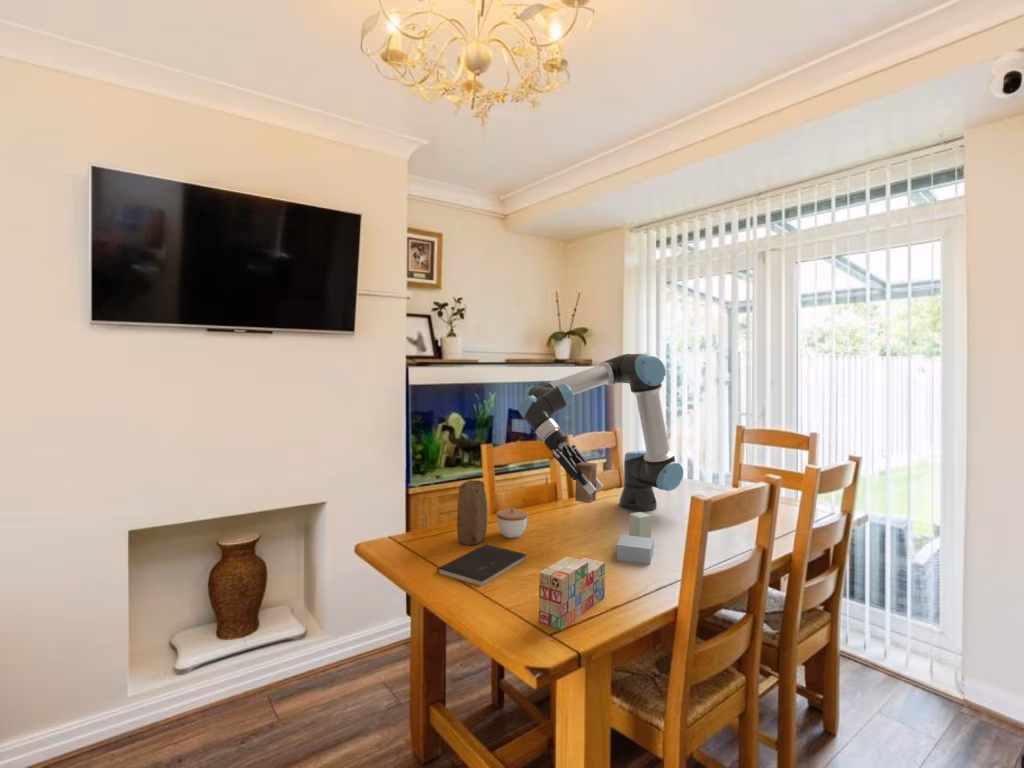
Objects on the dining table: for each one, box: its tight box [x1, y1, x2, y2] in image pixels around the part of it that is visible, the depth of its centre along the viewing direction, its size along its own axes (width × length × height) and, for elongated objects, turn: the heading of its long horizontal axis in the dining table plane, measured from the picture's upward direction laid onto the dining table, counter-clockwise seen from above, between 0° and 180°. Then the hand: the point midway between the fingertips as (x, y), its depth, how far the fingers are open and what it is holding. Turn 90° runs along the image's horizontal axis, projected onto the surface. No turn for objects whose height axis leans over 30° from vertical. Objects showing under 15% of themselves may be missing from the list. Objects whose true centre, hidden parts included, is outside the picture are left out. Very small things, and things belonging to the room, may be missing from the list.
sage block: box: [628, 511, 652, 538], centre depth 180 cm, size 5×5×9 cm
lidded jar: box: [495, 507, 528, 539], centre depth 185 cm, size 11×11×9 cm
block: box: [456, 479, 488, 546], centre depth 179 cm, size 11×8×20 cm
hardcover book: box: [436, 543, 528, 587], centre depth 158 cm, size 16×23×2 cm
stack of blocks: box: [538, 556, 606, 631], centre depth 131 cm, size 21×6×12 cm, turn 143°
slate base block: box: [616, 534, 655, 565], centre depth 167 cm, size 10×10×5 cm
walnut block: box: [574, 461, 597, 504], centre depth 174 cm, size 5×5×12 cm
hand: (596, 490), depth 172 cm, fingers closed on walnut block, 5 cm apart
